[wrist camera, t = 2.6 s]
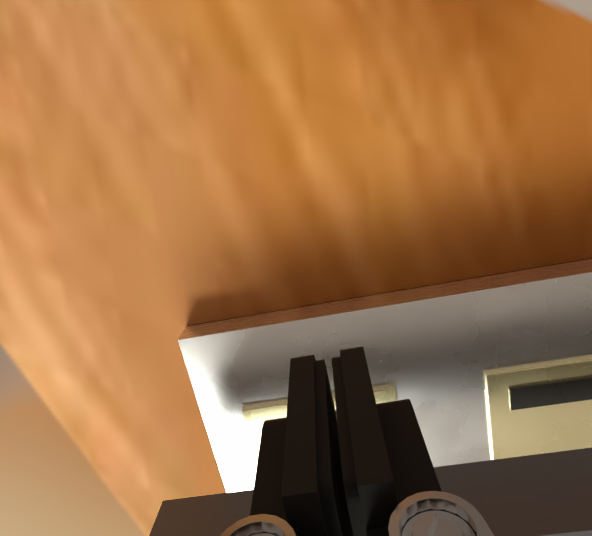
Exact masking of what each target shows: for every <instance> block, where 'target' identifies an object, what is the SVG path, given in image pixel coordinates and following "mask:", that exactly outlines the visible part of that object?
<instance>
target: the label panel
mask: <svg viewBox="0 0 592 536" xmlns="http://www.w3.org/2000/svg"><path fill="white" fill-rule="evenodd" d="M178 342H179V345H180V348H181V351H182V354H183V358H184V361H185V364H186V367H187V370H188V373H189V376H190V379H191V383H192V386H193V389H194V392H195V395H196V398H197V401H198V405H199V408H200V411H201V414H202V417H203V420H204V423H205V426H206V430H207V433H208V436H209V439H210V442H211V445H212V448H213V451H214V455H215V458H216V461H217V464H218V467H219V470H220V473H221V476H222V480H223V483H224V486H225V489H226V492H227V493H230V492H238V491H246V490H254V483H255V475H256V468H257V461H258V454H259V447H260V440H261V432H262V426H263V423H264V422H265V421H269V420H276V419H282V418H286V417H287V402H288V387H289V372H290V360H291V358H296V357H302V356H308V355H315V358H316V361H317V360H323V359H324V360H325V364H326V368H327V373H328V378H329V383H330V387H331V392H332V397H333V402H334V406H335V411H336V401H335V390H334V380H333V369H332V358H335V357H340V350H344V349H350V348H356V347H362V346H363V348H364V352H365V357H366V361H367V366H368V370H369V374H370V379H371V383H372V388H373V392H374V396H375V401H376V404H378V403H385V402H391V401H398V400H404V399H410V401H411V403H412V406H413V409H414V412H415V415H416V418H417V421H418V424H419V426H420V429H421V432H422V435H423V438H424V441H425V444H426V447H427V450H428V453H429V455H430V458H431V461H432V464H433V467H439V466H447V465H455V464H463V463H471V462H479V461H487V460H495V459H503V458H511V457H519V456H527V455H535V454H543V453H551V452H559V451H568V450H576V449H584V448H592V259H587V260H581V261H575V262H569V263H563V264H557V265H551V266H545V267H539V268H533V269H527V270H521V271H515V272H509V273H503V274H497V275H491V276H485V277H479V278H473V279H467V280H461V281H455V282H449V283H443V284H437V285H431V286H425V287H419V288H413V289H408V290H402V291H396V292H390V293H384V294H378V295H372V296H366V297H360V298H354V299H348V300H342V301H336V302H330V303H324V304H318V305H312V306H306V307H300V308H294V309H288V310H282V311H276V312H270V313H264V314H258V315H252V316H246V317H240V318H234V319H228V320H222V321H216V322H210V323H204V324H198V325H192V326H186V327H185V329H184V331H183V332H182V334H181V336H180V337H179V339H178ZM336 416H337V412H336Z"/></svg>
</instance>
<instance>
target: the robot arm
mask: <svg viewBox="0 0 592 536" xmlns="http://www.w3.org/2000/svg"><path fill="white" fill-rule="evenodd" d="M332 369H333V380H334V390H335V401H336V411H335V406H334V402H333V397H332V392H331V387H330V383H329V378H328V373H327V368H326V364H325V360H324V359H323V360H317V361H316V358H315V355H308V356H302V357H296V358H291V360H290V372H289V387H288V402H287V417H286V418H282V419H276V420H269V421H265V422H264V423H263V426H262V432H261V440H260V447H259V454H258V461H257V468H256V475H255V483H254V490H253V497H252V504H251V511H250V516H248V517H246V518H244V519H241V520H239V521H237V522H235V523H234V524H232V525H231V526H230V527H228V528H227V529H226V530H225V531H224V532H223V533H222V534H221V535H220V536H494V534H493V533H492V531H491V529H490V528H489V526H488V525H487V523H486V521H485V520H484V518H483V517H482V515H481V514H480V513H479V512H478V511H477V510H476V508H475V507H474V506H473V505H472V504H470V503H469V502H467V501H466V500H464V499H463V498H461V497H459V496H456V495H453V494H450V493H448V492H442V490H441V487H440V485H439V482H438V479H437V476H436V473H435V470H434V467H433V464H432V461H431V458H430V455H429V453H428V450H427V447H426V444H425V441H424V438H423V435H422V432H421V429H420V426H419V424H418V421H417V418H416V415H415V412H414V409H413V406H412V403H411V401H410V399H404V400H398V401H391V402H385V403H378V404H376V401H375V396H374V392H373V388H372V383H371V379H370V374H369V370H368V366H367V361H366V357H365V352H364V348H363V346H362V347H356V348H350V349H344V350H340V357H335V358H332ZM336 412H337V416H336Z"/></svg>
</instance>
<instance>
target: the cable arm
mask: <svg viewBox="0 0 592 536" xmlns="http://www.w3.org/2000/svg"><path fill="white" fill-rule="evenodd" d="M434 470H435V473H436V476H437V479H438V482H439V485H440V487H441V490H442V492H448V493H450V494H453V495H456V496H459V497H461V498H463V499H464V500H466V501H467V502H469V503H470V504H472V505H473V506H474V507H475V508H476V510H477V511H478V512H479V513H480V514H481V515H482V517H483V518H484V520H485V521H486V523H487V525H488V526H489V528H490V529H491V531H492V533H493V534H494V536H592V448H584V449H576V450H568V451H559V452H551V453H543V454H535V455H527V456H519V457H511V458H503V459H495V460H487V461H479V462H471V463H463V464H455V465H447V466H439V467H434ZM252 497H253V490H246V491H238V492H230V493H222V494H214V495H206V496H198V497H190V498H182V499H174V500H166V501H163V502H162V505H161V507H160V510H159V513H158V515H157V518H156V520H155V523H154V525H153V528H152V530H151V533H150V536H220V535H221V534H222V533H223V532H224V531H225V530H226V529H227V528H228V527H230V526H231V525H232V524H234V523H235V522H237V521H239V520H241V519H244V518H246V517H248V516H250V511H251V504H252Z"/></svg>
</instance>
